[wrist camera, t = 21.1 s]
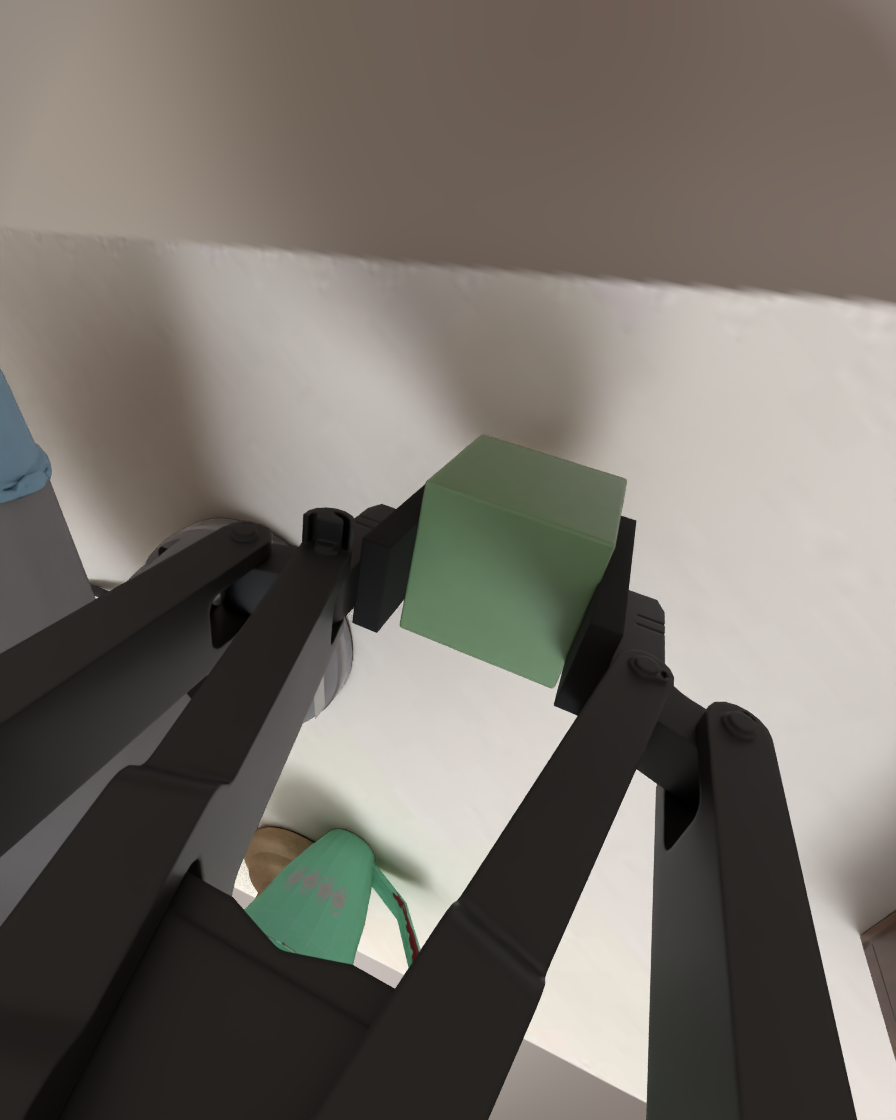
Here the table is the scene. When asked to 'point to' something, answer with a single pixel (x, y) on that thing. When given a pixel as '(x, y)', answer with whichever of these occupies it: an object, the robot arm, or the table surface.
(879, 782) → the table surface
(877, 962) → the walnut box
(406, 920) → the mug
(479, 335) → the table surface
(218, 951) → the robot arm
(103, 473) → the table surface
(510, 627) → the block
